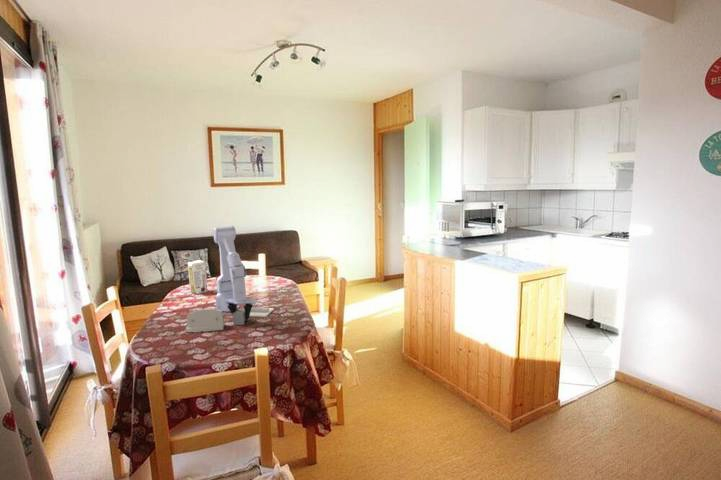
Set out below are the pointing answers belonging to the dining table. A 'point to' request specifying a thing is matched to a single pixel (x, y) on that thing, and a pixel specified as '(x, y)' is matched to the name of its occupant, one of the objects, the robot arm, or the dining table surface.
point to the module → (239, 317)
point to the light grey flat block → (205, 320)
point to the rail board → (260, 312)
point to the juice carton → (197, 277)
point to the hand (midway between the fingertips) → (241, 318)
